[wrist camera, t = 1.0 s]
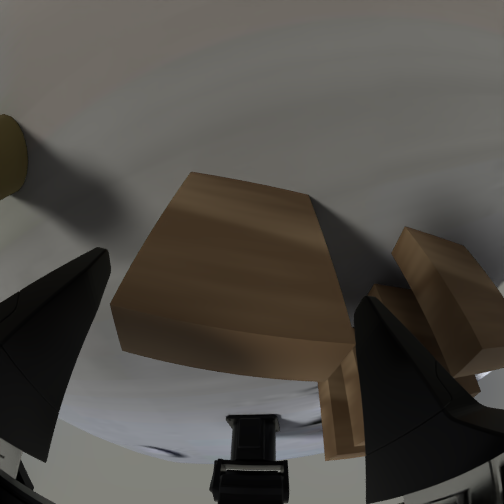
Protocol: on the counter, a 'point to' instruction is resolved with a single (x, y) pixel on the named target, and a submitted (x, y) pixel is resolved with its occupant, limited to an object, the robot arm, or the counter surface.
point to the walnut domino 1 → (236, 285)
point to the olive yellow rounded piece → (11, 156)
